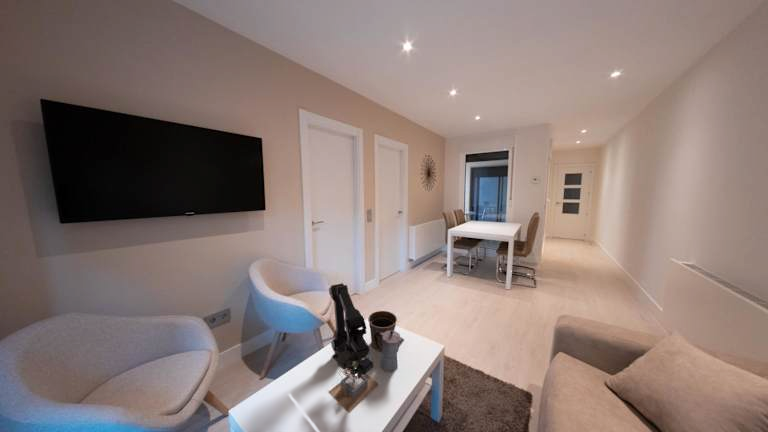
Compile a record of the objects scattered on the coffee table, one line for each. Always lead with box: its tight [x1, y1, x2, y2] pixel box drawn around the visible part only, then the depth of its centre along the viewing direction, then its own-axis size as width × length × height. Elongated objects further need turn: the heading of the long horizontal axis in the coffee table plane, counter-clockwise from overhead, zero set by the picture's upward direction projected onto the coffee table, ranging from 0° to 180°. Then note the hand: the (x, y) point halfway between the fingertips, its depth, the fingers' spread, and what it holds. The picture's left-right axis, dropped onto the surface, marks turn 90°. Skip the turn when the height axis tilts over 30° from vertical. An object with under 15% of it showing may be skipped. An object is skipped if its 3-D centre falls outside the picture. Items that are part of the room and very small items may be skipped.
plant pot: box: [367, 310, 398, 353], centre depth 132 cm, size 16×16×16 cm
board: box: [328, 373, 380, 414], centre depth 104 cm, size 14×18×1 cm
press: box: [340, 374, 368, 400], centre depth 103 cm, size 8×10×4 cm
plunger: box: [345, 364, 364, 390], centre depth 103 cm, size 6×6×7 cm
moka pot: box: [374, 330, 405, 374], centre depth 116 cm, size 10×15×20 cm, turn 78°
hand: (354, 373), depth 103 cm, fingers open, 6 cm apart
